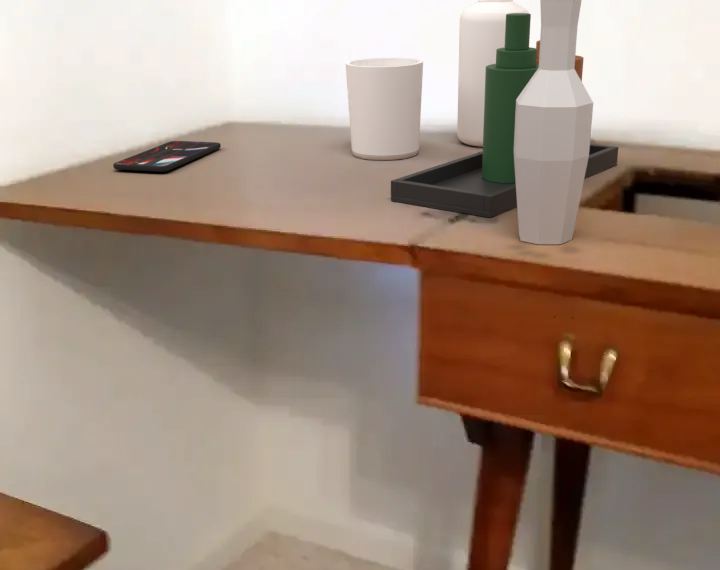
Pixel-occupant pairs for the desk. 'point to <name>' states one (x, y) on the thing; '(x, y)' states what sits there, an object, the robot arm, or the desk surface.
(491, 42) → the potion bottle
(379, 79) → the mug
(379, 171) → the desk surface
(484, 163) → the green bottle
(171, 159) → the smartphone
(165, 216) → the desk surface
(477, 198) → the tray
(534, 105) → the low poly bottle
